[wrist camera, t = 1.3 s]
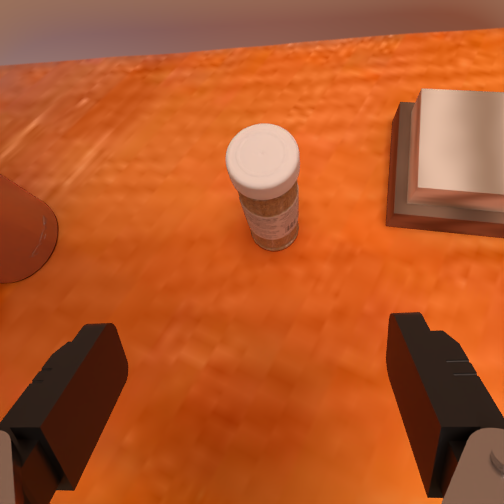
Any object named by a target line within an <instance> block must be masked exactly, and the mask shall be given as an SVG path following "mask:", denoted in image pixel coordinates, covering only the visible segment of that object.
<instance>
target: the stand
mask: <svg viewBox="0 0 504 504" xmlns="http://www.w3.org/2000/svg"><path fill="white" fill-rule="evenodd" d="M386 226H391V227H401V228H410V229H420V230H430V231H440V232H450V233H460V234H470V235H479V236H489V237H499V238H504V92H483V91H461V90H440V89H421V91H420V93H419V96H418V98H417V100H416V102H415V103H410V102H400V104H399V106H398V109H397V112H396V114H395V117H394V119H393V122H392V136H391V152H390V168H389V184H388V199H387V215H386Z"/></svg>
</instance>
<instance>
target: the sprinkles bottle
mask: <svg viewBox="0 0 504 504" xmlns="http://www.w3.org/2000/svg"><path fill="white" fill-rule="evenodd" d="M226 166H227V170H228V173H229V176H230V179H231V181H232V183H233V185H234V187H235V188H236V189H237V190H238V193H239V199H240V202H241V205H242V208H243V210H244V213H245V216H246V219H247V222H248V224H249V226H250V228H251V234H252V237H253V239H254V241H255V242H256V243H257V244H258V245H259V246H260V247H262V248H264V249H266V250H270V251H278V250H282V249H284V248H287V247H288V246H290V245H291V244H292V243H293V242H294V240H295V239H296V237H297V235H298V230H299V226H298V183H297V178H298V175H299V170H300V157H299V148H298V145H297V143H296V141H295V139H294V138H293V136H292V135H291V134H290V133H289V132H288V131H286V130H285V129H283V128H282V127H279V126H277V125H273V124H256V125H252V126H249V127H247V128H245V129H243V130H242V131H240V132H239V133H238V134H237V135H236V136H235V137H234V138H233V139H232V141H231V142H230V144H229V146H228V148H227V152H226Z"/></svg>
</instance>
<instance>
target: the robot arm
mask: <svg viewBox="0 0 504 504" xmlns="http://www.w3.org/2000/svg"><path fill="white" fill-rule="evenodd" d="M57 235H58V229H57V221H56V217H55V215H54V213H53V211H52V210H51V209H50V208H49V207H48V205H47V204H45V203H44V202H42V201H41V200H39V199H38V198H36V197H34V196H33V195H31V194H30V193H28V192H27V191H25V190H24V189H22V188H21V187H19V186H18V185H17V184H15V183H13V182H12V181H10V180H9V179H7V178H6V177H4V176H3V175H1V174H0V283H12V282H16V281H19V280H22V279H24V278H26V277H28V276H30V275H32V274H33V273H34V272H36V271H37V270H38V269H40V268H41V266H42V265H43V264H44V263H45V262H46V261H47V259H48V258H49V256H50V255H51V253H52V251H53V249H54V246H55V244H56V239H57ZM386 364H387V371H388V376H389V380H390V383H391V386H392V389H393V392H394V395H395V398H396V401H397V404H398V408H399V411H400V414H401V417H402V420H403V423H404V426H405V429H406V432H407V435H408V438H409V442H410V445H411V448H412V451H413V454H414V457H415V460H416V463H417V466H418V469H419V472H420V475H421V479H422V482H423V485H424V488H425V491H426V494H427V497H428V498H444V499H443V501H442V504H504V417H503V416H502V414H501V412H500V411H499V409H498V407H497V406H496V404H495V402H494V401H493V399H492V397H491V396H490V394H489V392H488V391H487V389H486V387H485V386H484V384H483V382H482V381H481V379H480V377H479V376H477V373H476V371H475V369H474V368H473V366H472V364H471V363H469V359H468V358H467V356H466V354H465V353H464V351H463V349H462V348H461V346H460V344H459V343H458V342H456V341H455V340H454V339H453V338H451V337H450V336H449V335H448V334H446V333H445V332H444V331H430V329H429V327H428V325H427V323H426V322H425V320H424V318H423V316H422V314H421V313H419V312H413V313H391V314H390V317H389V326H388V339H387V351H386ZM127 376H128V362H127V359H126V356H125V353H124V350H123V347H122V344H121V341H120V338H119V335H118V332H117V329H116V327H115V325H114V324H112V323H101V324H86V325H84V326H83V327H82V329H81V330H80V331H79V333H78V334H77V336H76V337H75V338H74V340H73V341H72V342H67V343H66V344H65V345H64V346H62V347H61V348H60V349H59V350H57V351H56V352H55V353H53V354H52V355H51V357H50V358H49V359H48V361H47V362H46V363H45V365H44V366H43V367H42V371H39V373H38V374H37V375H36V376H35V378H34V379H33V380H32V381H33V382H32V384H29V386H28V387H27V388H26V390H25V391H24V392H23V393H22V395H21V396H20V397H19V399H18V400H17V401H16V403H15V404H14V405H13V407H12V408H11V409H10V411H9V412H8V413H7V414H6V416H5V417H4V418H3V420H2V421H1V422H0V504H50V501H51V499H52V497H53V495H54V493H55V491H56V490H72V491H74V490H75V488H76V486H77V484H78V482H79V479H80V477H81V475H82V473H83V471H84V469H85V467H86V465H87V463H88V461H89V458H90V456H91V454H92V452H93V450H94V448H95V446H96V444H97V442H98V440H99V437H100V435H101V433H102V431H103V429H104V427H105V425H106V423H107V421H108V419H109V417H110V414H111V412H112V410H113V408H114V406H115V404H116V402H117V400H118V398H119V396H120V393H121V391H122V389H123V387H124V385H125V383H126V380H127Z"/></svg>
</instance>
